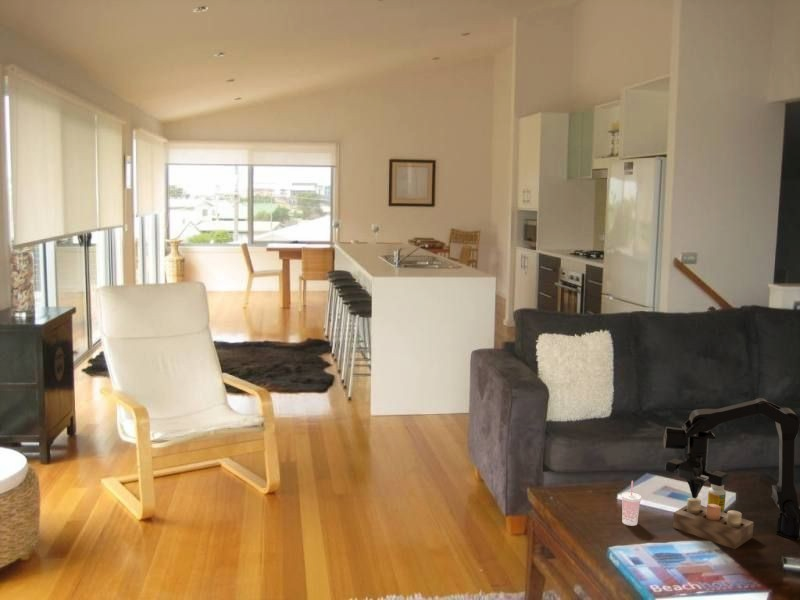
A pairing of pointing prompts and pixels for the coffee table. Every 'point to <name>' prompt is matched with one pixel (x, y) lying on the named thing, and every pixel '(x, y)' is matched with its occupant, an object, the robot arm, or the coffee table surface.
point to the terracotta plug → (713, 512)
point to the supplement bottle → (717, 496)
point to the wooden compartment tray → (713, 527)
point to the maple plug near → (734, 519)
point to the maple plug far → (693, 505)
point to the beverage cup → (630, 507)
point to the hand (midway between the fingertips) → (694, 497)
